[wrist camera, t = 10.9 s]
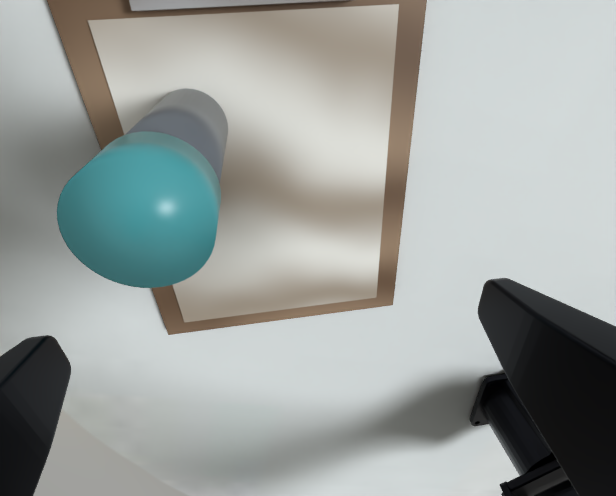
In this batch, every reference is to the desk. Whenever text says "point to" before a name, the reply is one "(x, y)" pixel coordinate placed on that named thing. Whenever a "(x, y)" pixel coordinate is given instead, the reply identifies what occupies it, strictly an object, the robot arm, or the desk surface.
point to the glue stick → (151, 195)
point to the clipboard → (271, 139)
